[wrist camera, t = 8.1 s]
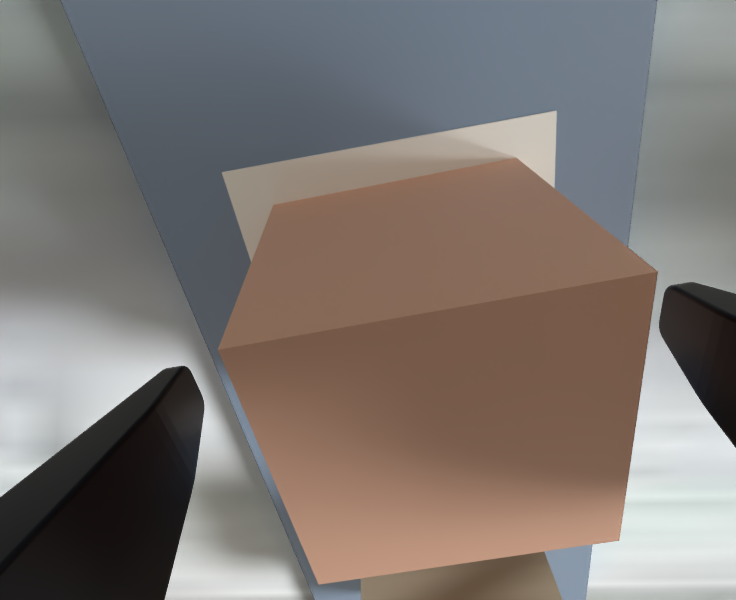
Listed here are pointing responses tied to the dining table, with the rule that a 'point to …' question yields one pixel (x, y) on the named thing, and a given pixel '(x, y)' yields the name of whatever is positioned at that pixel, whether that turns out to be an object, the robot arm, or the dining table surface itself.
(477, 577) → the beech block
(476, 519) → the terracotta block
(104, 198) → the dining table surface
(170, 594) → the dining table surface
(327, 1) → the baseplate
